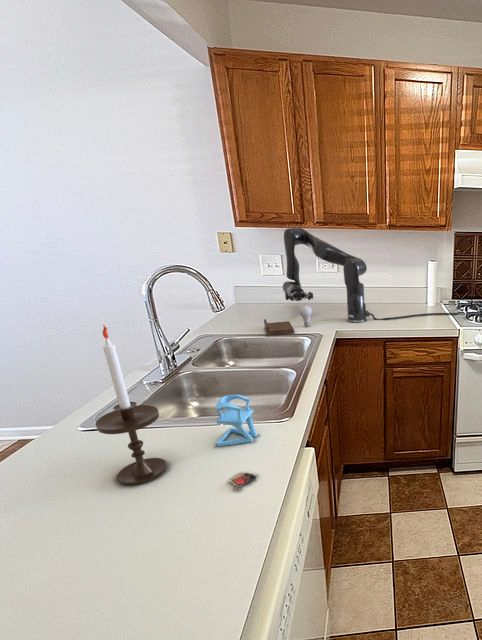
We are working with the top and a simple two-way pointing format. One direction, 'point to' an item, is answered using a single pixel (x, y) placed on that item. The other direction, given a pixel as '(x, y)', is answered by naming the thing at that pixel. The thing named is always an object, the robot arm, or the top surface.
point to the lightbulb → (306, 314)
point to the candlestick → (129, 425)
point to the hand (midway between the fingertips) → (301, 298)
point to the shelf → (278, 328)
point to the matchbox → (242, 479)
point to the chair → (235, 420)
